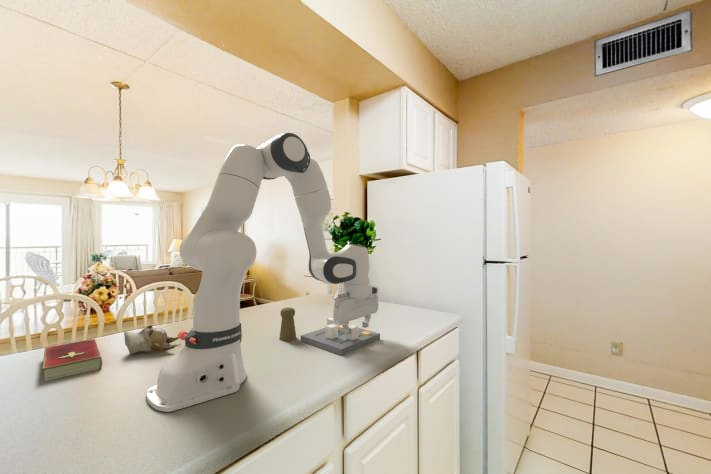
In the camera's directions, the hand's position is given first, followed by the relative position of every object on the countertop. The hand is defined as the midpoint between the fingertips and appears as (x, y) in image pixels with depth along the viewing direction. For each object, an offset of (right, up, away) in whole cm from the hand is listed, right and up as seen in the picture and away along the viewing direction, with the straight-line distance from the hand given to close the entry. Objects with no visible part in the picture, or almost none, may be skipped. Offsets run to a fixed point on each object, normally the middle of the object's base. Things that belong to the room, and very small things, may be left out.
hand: (356, 330), depth 109 cm
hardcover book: (-84, -5, -17) cm, 86 cm away
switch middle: (-9, -2, -1) cm, 9 cm away
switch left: (-9, -2, +8) cm, 12 cm away
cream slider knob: (-2, -2, -2) cm, 3 cm away
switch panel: (-6, -4, +3) cm, 8 cm away
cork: (-25, -5, +5) cm, 26 cm away
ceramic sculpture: (-67, -5, -7) cm, 67 cm away
